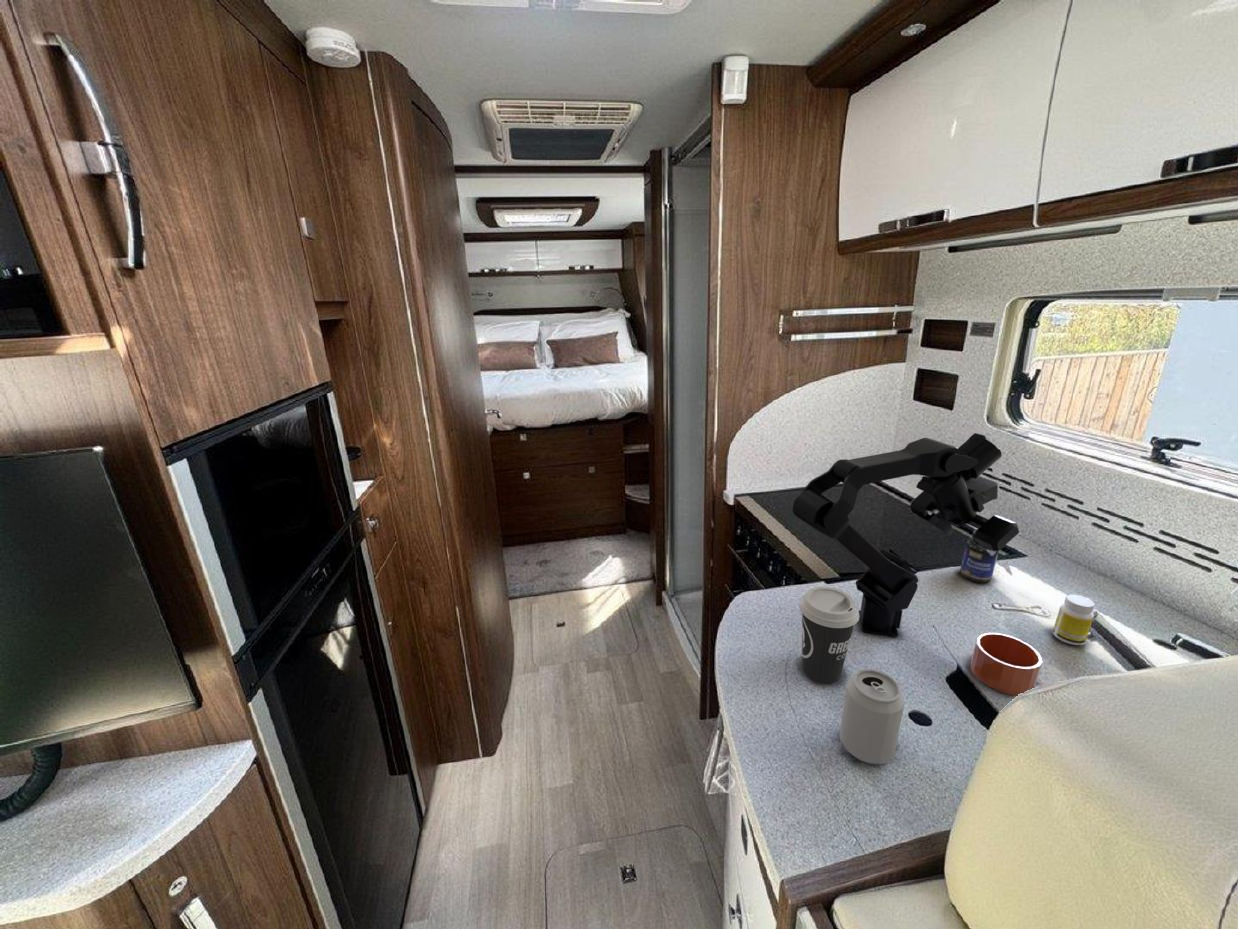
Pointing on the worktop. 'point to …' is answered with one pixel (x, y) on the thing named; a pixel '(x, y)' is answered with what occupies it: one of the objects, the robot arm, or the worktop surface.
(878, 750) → the can
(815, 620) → the coffee cup
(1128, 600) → the worktop surface
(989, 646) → the ceramic bowl
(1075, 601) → the supplement bottle
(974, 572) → the pill bottle
